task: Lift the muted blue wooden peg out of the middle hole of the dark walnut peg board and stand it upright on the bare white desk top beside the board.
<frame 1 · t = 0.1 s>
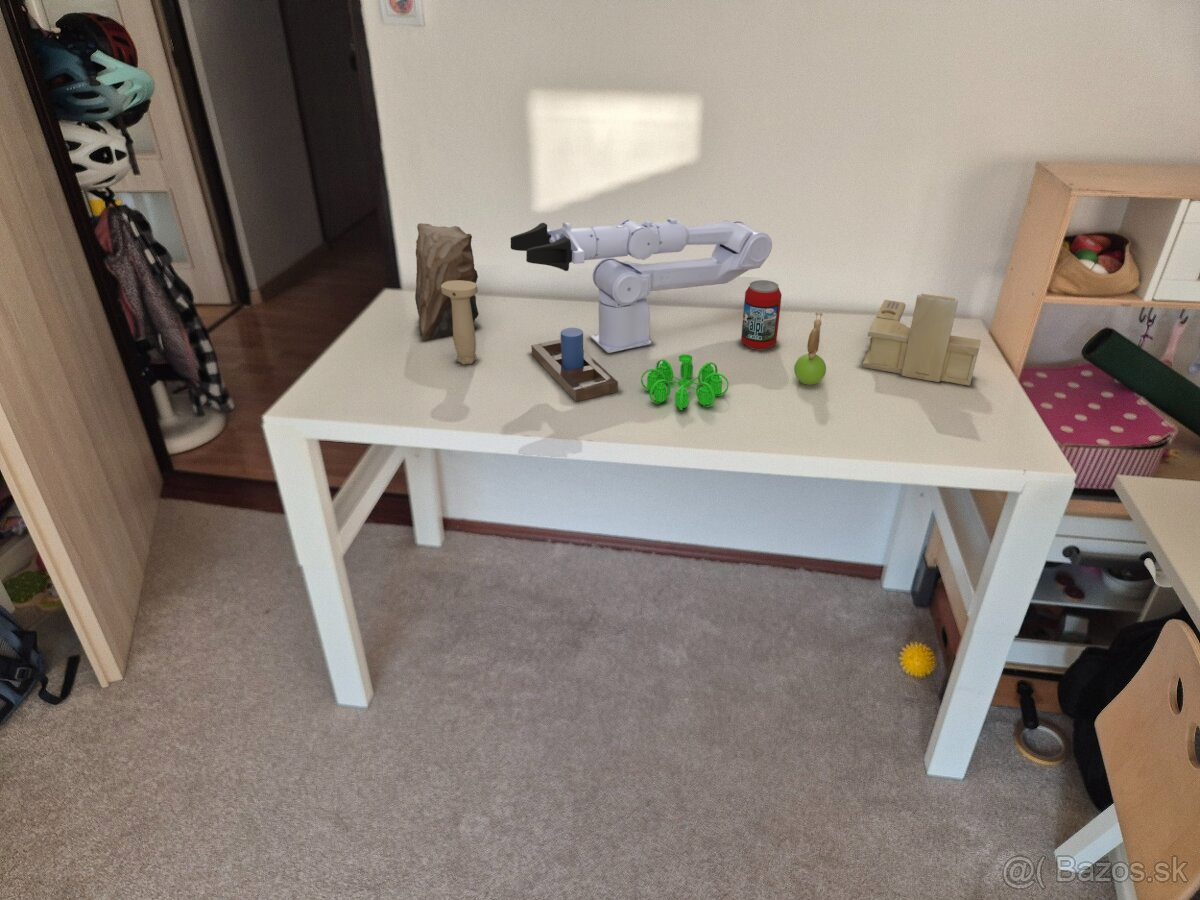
hand: (518, 249, 145), 22 cm above the table, tool horizontal, fingers open, 7 cm apart
brown rock: (441, 329, 170), on the table
handle: (467, 362, 157), on the table
toy kitchen set: (920, 360, 156), on the table
chandelier: (683, 394, 145), on the table
peg board: (573, 372, 152), on the table
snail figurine: (808, 382, 148), on the table
peg: (572, 352, 150), in a hole of the peg board
beverage can: (758, 345, 162), on the table
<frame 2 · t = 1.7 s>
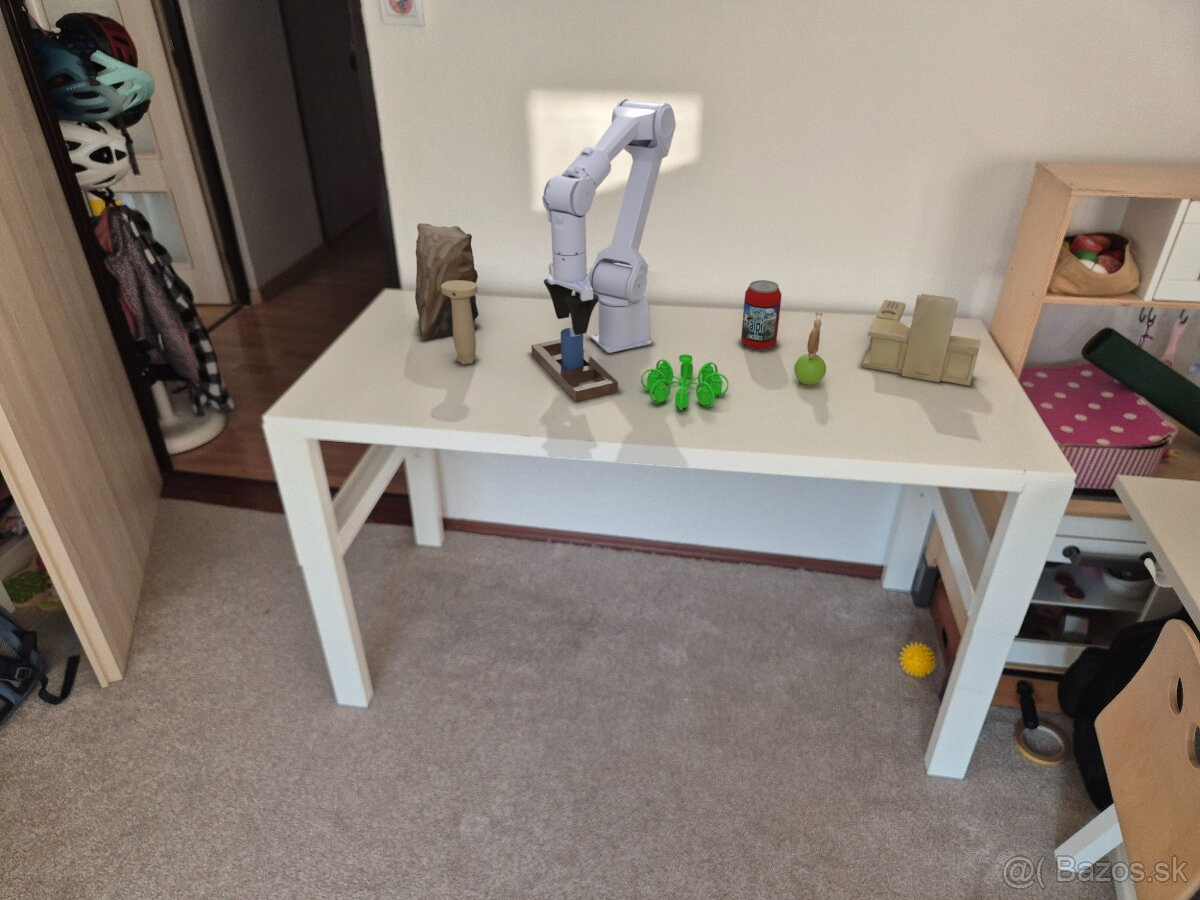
hand: (571, 325, 147), 9 cm above the table, tool pointing down, fingers open, 7 cm apart
nothing on the table moved.
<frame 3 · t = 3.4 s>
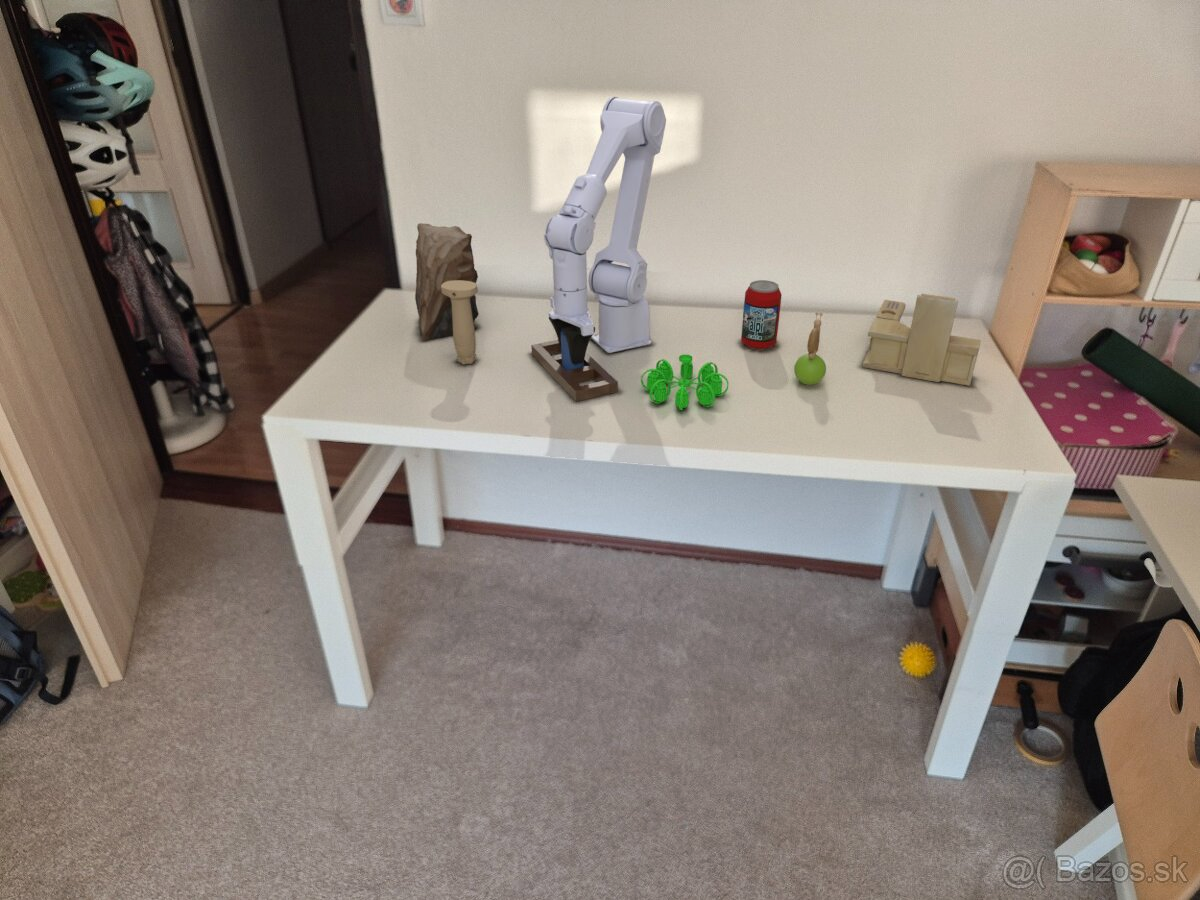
hand: (572, 357, 151), 3 cm above the table, tool pointing down, fingers closed on peg, 4 cm apart
peg: (572, 352, 150), in a hole of the peg board, touching gripper
everything else where it was.
when the fingers open (3 cm above the table, at t = 8.2 s): peg stays where it is, on the table.
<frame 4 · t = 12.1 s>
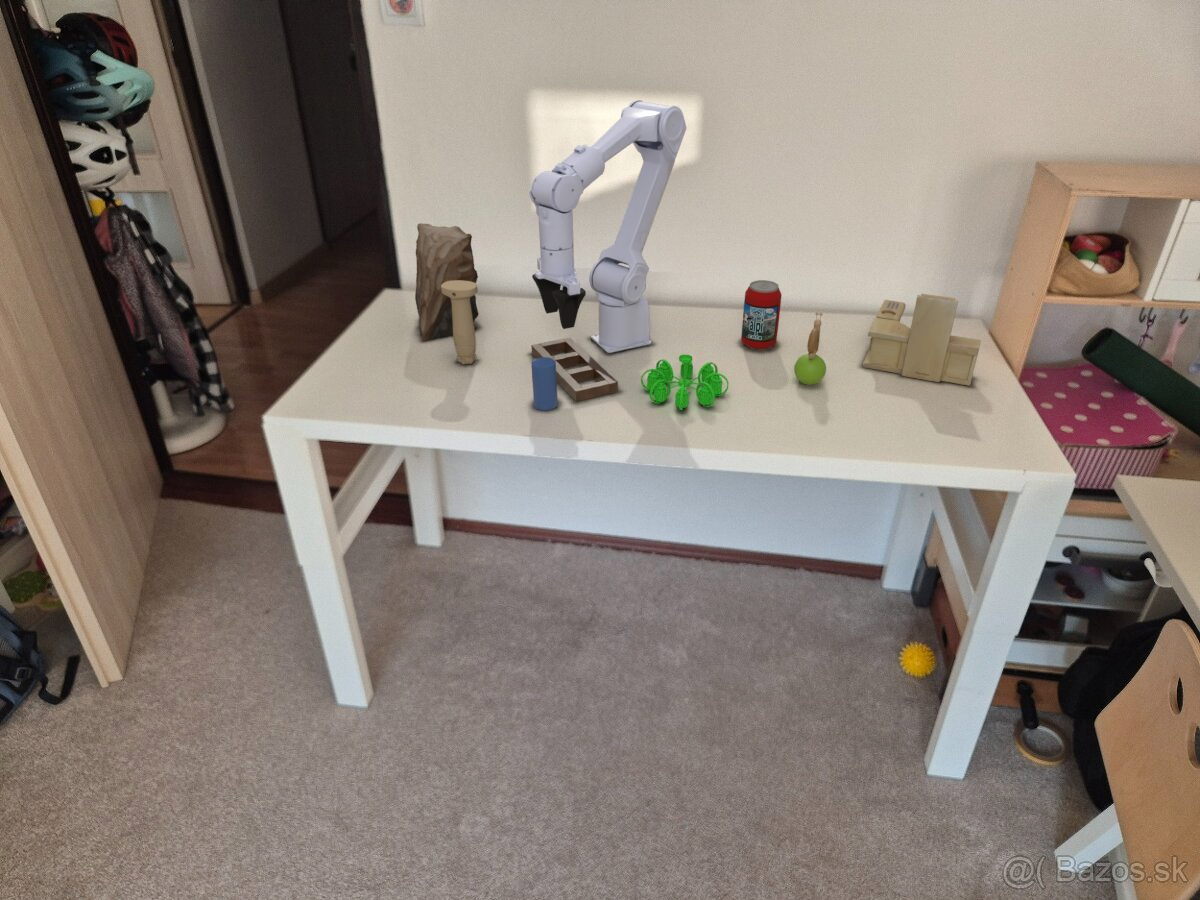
hand: (559, 319, 149), 9 cm above the table, tool pointing down, fingers open, 7 cm apart
peg: (544, 383, 140), on the table
everything else where it was.
at the end: peg 0.1 cm from the target spot, on the table; peg tilted 0°; peg touching table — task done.
